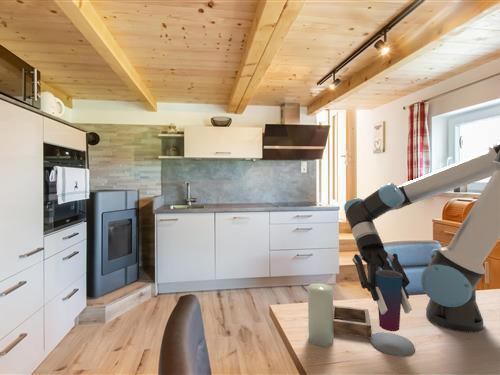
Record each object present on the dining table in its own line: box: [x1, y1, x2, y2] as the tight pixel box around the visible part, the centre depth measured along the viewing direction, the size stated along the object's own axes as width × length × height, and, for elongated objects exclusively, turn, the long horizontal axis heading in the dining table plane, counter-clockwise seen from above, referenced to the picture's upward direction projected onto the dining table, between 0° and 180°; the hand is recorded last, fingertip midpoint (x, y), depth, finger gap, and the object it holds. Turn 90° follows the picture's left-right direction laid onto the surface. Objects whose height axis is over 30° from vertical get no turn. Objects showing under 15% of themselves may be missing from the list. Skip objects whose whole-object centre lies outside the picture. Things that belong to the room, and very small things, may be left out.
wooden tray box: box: [333, 304, 372, 339], centre depth 90 cm, size 12×12×4 cm
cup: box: [375, 269, 403, 332], centre depth 80 cm, size 7×7×15 cm
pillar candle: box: [307, 282, 334, 347], centre depth 82 cm, size 7×7×15 cm
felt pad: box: [369, 331, 415, 357], centre depth 79 cm, size 11×11×1 cm
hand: (396, 311), depth 76 cm, fingers closed on cup, 6 cm apart
